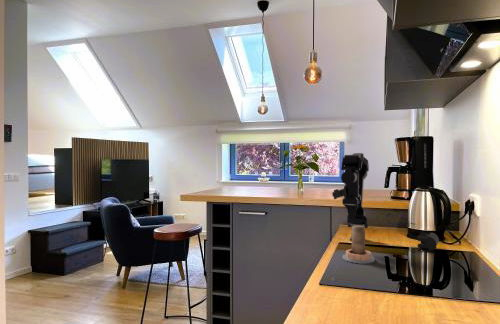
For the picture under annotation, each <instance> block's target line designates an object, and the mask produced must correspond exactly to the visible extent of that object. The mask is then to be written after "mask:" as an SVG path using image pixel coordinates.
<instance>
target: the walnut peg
mask: <svg viewBox="0 0 500 324" xmlns="http://www.w3.org/2000/svg"><path fill="white" fill-rule="evenodd" d="M351 249H352V254H358V255H364V254H365V250H366V228H365V227H364V226H359V225H355V226H352V240H351Z"/></svg>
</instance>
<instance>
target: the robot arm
mask: <svg viewBox="0 0 500 324" xmlns="http://www.w3.org/2000/svg"><path fill="white" fill-rule="evenodd" d="M340 168H341V171H344V172H343V173H342V174H341V176H340V180H341V182H342V183H343V184H344V186H343V188H341V189H338V188H336V189H334V190H333V191H331V192H332V193H331V195H332V197H333V200H338V199H339V198H342V197H343V199H342V201H341V202H342V203H341V204H342V205H343V206H344V208H346V210H347V219H346V220H347V227H348V228H351V230H350V231H351V232H350V233H351V235H350V238H349V240H350V241H352V226H355V225H359V226H364V227H365V229H368V228H369V221H368V218H367V215H366V212H365V209H363V199H364V184H365V183H364V181H365V180H366V178H367V177H368V172H369V171H370V165H369V160H368V159H367V158H366V157H365V156H364V153H363V152H357V153H355V152H353V153H352V154H345V155H344V156H343V157H342V161H341V167H340Z"/></svg>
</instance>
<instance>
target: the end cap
mask: <svg viewBox="0 0 500 324" xmlns="http://www.w3.org/2000/svg"><path fill="white" fill-rule="evenodd" d="M417 241H418V242H420V243H417V251H418V250H422V251H421V252H423V251H429V252H428V253H431V252H432V251H434V250H435V249H436V248H437V245H438V244H439V242H440V238H439V236H438V235H437V234H436V233H434V232H430V233H424V232H420V234H419V235H418V236H417Z"/></svg>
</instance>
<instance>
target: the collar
mask: <svg viewBox="0 0 500 324" xmlns="http://www.w3.org/2000/svg"><path fill="white" fill-rule="evenodd" d="M343 259H344V260H343ZM342 260H343V261H345V262H347V261H348V262H347V263H350V262H353V263H352V264H356V263H358V264H357V265H368V264H373V263H374V262H375V257H374V256H373V255H372V252H371V251H370V250H366V249H365V254H364V255H358V254H352V248H349V249H346V250H345V254H343V255H342Z"/></svg>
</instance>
